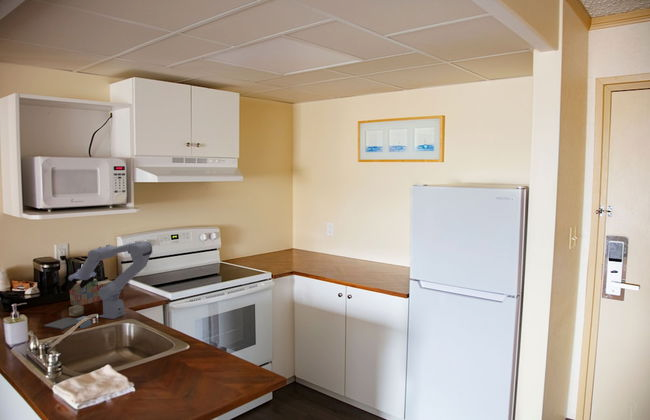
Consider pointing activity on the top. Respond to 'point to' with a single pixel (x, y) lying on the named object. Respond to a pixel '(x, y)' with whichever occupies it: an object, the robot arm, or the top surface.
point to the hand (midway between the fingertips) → (74, 288)
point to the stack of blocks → (86, 292)
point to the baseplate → (62, 323)
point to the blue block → (85, 324)
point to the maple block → (76, 310)
